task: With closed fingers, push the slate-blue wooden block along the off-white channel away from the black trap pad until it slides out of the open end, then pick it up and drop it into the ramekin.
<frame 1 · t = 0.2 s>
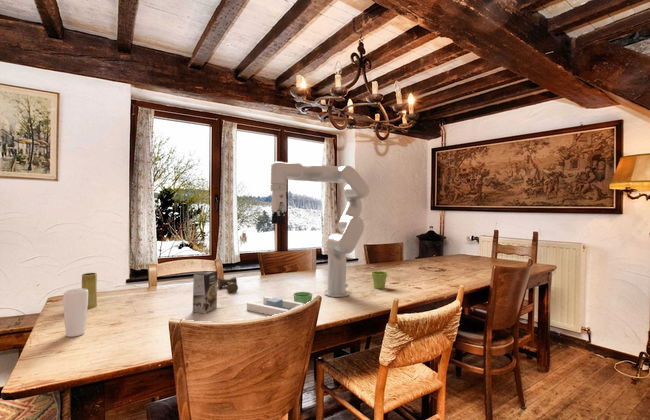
hand: (277, 224, 155), 37 cm above the table, tool pointing down, fingers open, 9 cm apart
channel: (276, 310, 142), on the table
block: (274, 310, 143), resting in channel
ramekin: (302, 303, 153), on the table
vase: (88, 307, 142), on the table
kendama: (228, 289, 178), on the table
plant pot: (379, 288, 186), on the table
drinking glass: (75, 335, 112), on the table
coffee box: (205, 310, 141), on the table
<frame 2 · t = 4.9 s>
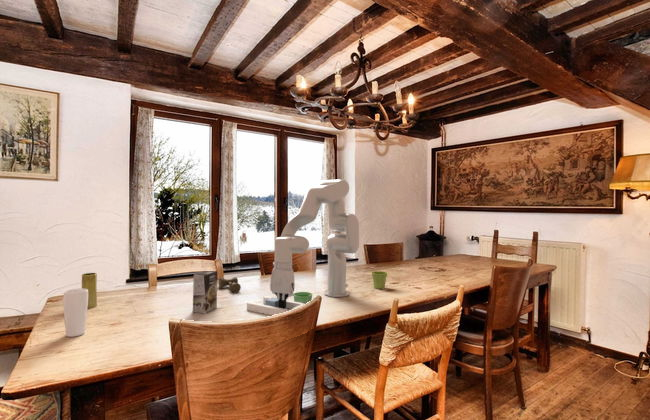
hand: (282, 308, 141), 1 cm above the table, tool pointing down, fingers closed
block: (273, 309, 143), resting in channel, touching gripper
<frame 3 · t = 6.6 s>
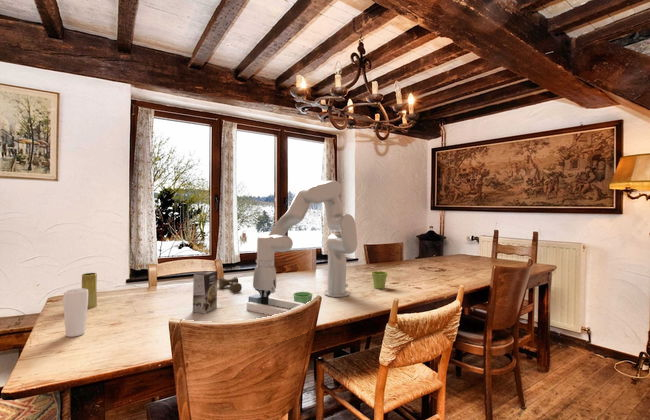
hand: (264, 304, 145), 1 cm above the table, tool pointing down, fingers closed
block: (256, 306, 148), on the table, touching gripper
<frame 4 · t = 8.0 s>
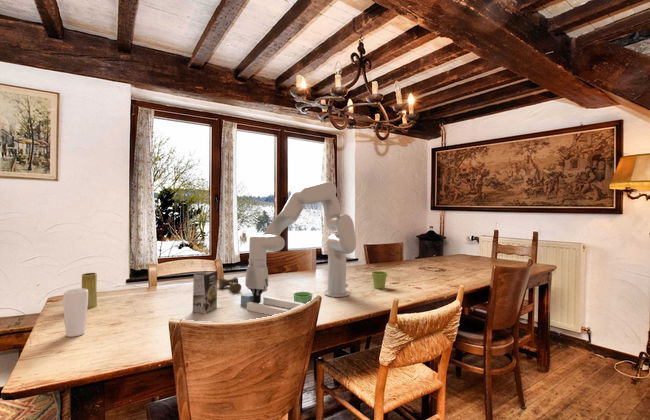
hand: (256, 303, 148), 1 cm above the table, tool pointing down, fingers closed
block: (248, 304, 150), on the table, touching gripper
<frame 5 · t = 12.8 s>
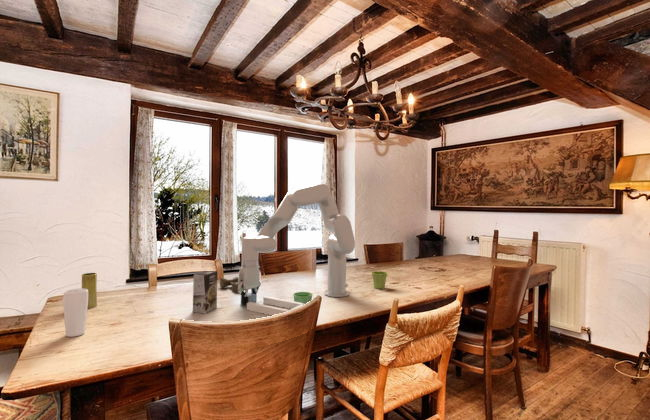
hand: (249, 302, 150), 1 cm above the table, tool pointing down, fingers closed on block, 5 cm apart
block: (248, 304, 150), on the table, touching gripper
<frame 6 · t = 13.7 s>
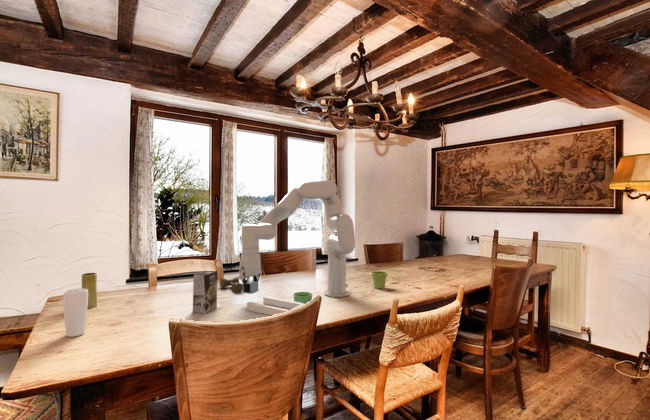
hand: (251, 290, 150), 6 cm above the table, tool pointing down, fingers closed on block, 5 cm apart
block: (250, 291, 150), point 6 cm above the table, touching gripper
when the fingers open (6 cm above the table, at t = 18.1 s): block drops 1 cm, resting on ramekin.
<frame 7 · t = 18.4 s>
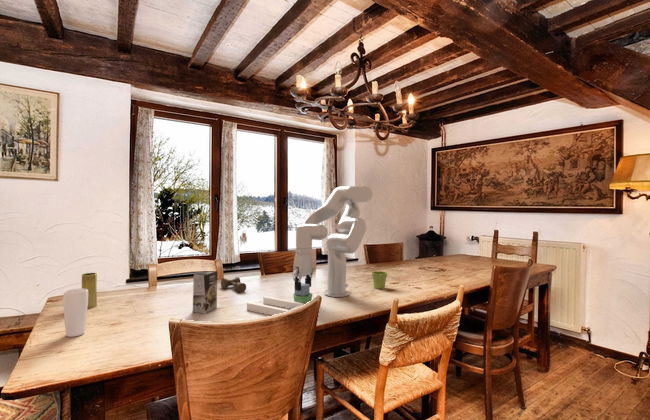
hand: (303, 288, 153), 7 cm above the table, tool pointing down, fingers open, 8 cm apart
block: (302, 294, 154), point 4 cm above the table, touching ramekin
ramekin: (302, 304, 153), on the table, touching block
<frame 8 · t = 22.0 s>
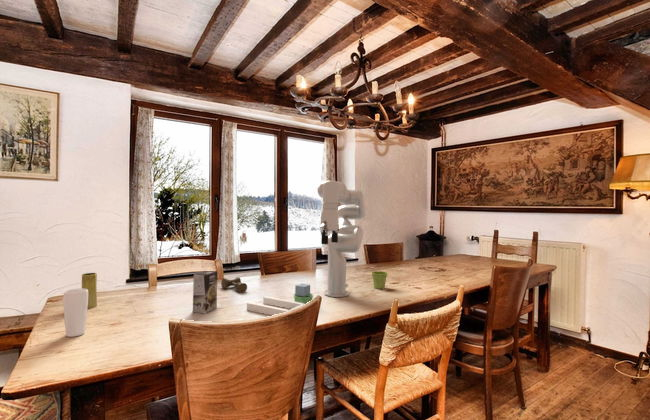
hand: (329, 243, 154), 28 cm above the table, tool pointing down, fingers open, 9 cm apart
block: (302, 294, 152), point 4 cm above the table, touching ramekin
ramekin: (303, 304, 152), on the table, touching block
at the end: block 0.4 cm from the ramekin (horizontally); the gripper is holding nothing; block point 4.2 cm above the table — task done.
